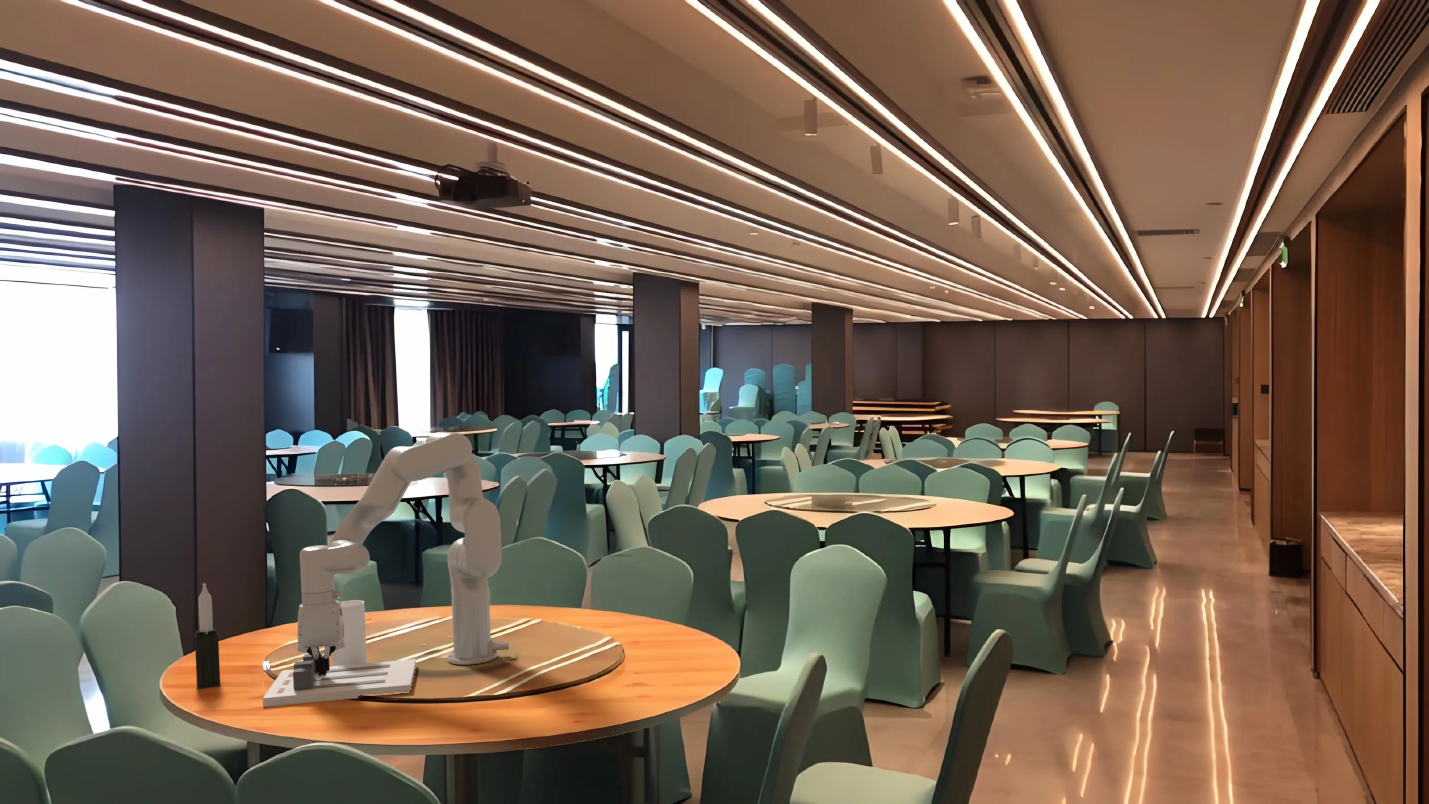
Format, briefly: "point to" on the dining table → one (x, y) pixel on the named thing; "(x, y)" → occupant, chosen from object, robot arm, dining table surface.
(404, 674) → the switch panel
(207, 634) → the black and grey marker
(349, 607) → the cup
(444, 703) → the dining table surface
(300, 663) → the handle
